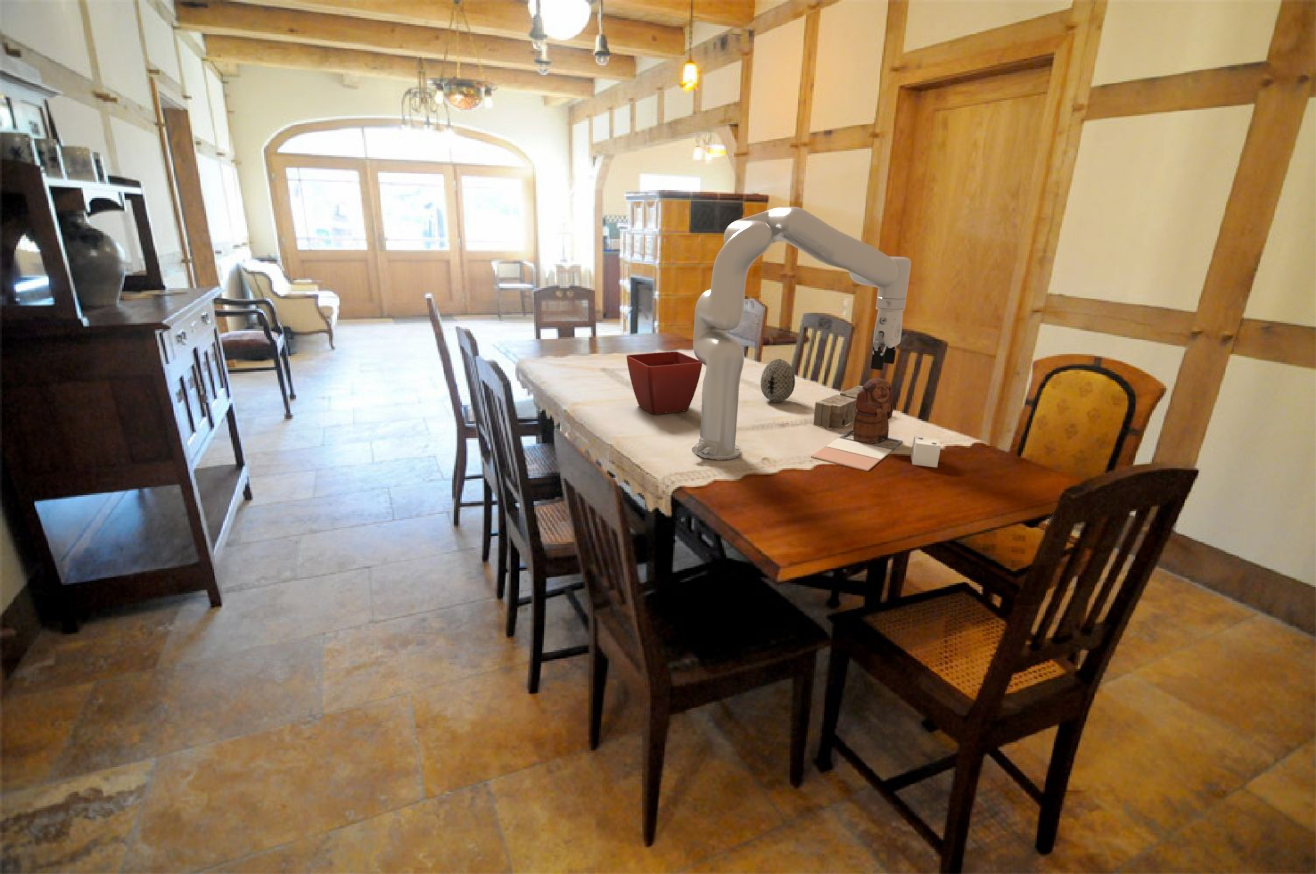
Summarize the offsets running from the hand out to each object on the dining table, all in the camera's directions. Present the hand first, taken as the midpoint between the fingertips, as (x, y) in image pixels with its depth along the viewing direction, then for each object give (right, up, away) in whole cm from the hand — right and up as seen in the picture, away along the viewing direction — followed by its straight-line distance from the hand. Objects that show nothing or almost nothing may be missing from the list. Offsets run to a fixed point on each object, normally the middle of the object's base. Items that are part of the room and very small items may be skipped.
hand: (882, 366), depth 177 cm
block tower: (-2, -14, +28) cm, 31 cm away
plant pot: (-61, -10, +33) cm, 70 cm away
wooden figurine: (-1, -21, +7) cm, 22 cm away
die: (+8, -26, -8) cm, 29 cm away
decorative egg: (-22, -8, +44) cm, 50 cm away
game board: (-7, -23, 0) cm, 24 cm away
